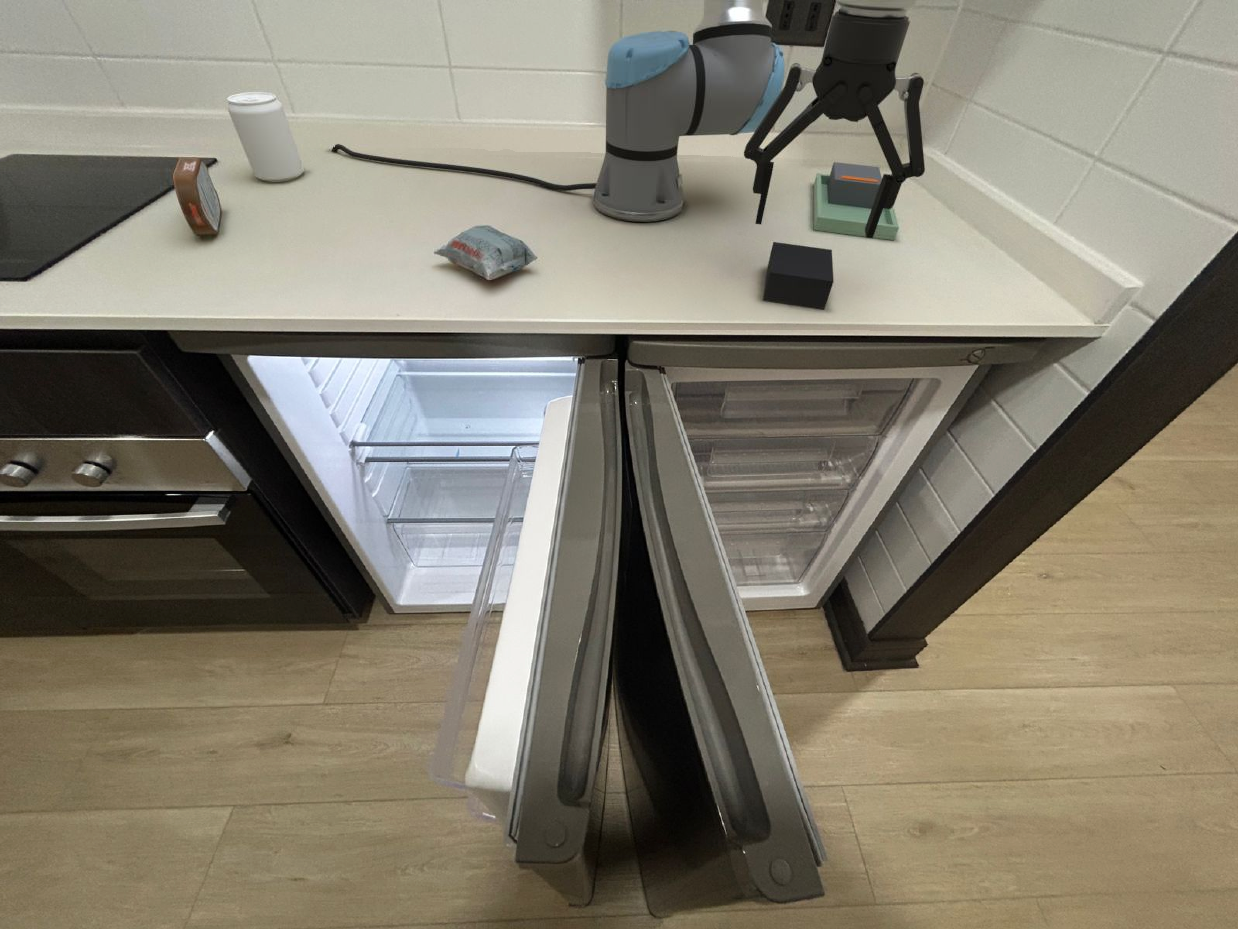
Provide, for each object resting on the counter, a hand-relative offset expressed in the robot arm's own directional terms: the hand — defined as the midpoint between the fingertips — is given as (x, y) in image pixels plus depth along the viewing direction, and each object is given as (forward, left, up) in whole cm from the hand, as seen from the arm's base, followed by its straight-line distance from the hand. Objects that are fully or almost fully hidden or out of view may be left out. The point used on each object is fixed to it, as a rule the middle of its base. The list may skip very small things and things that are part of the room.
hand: (812, 227), depth 70 cm
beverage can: (-91, +14, -9) cm, 93 cm away
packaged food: (-42, -8, -9) cm, 44 cm away
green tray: (+9, +32, -9) cm, 35 cm away
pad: (+9, +37, -8) cm, 39 cm away
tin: (-87, -7, -9) cm, 88 cm away
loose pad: (0, 0, -9) cm, 9 cm away
